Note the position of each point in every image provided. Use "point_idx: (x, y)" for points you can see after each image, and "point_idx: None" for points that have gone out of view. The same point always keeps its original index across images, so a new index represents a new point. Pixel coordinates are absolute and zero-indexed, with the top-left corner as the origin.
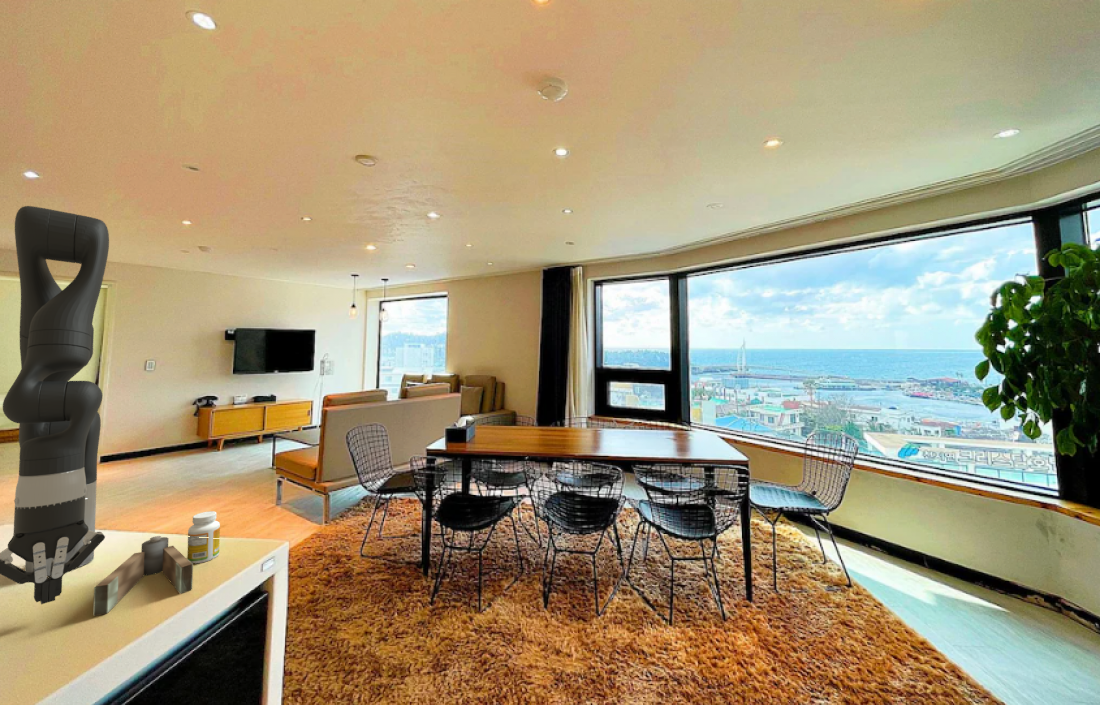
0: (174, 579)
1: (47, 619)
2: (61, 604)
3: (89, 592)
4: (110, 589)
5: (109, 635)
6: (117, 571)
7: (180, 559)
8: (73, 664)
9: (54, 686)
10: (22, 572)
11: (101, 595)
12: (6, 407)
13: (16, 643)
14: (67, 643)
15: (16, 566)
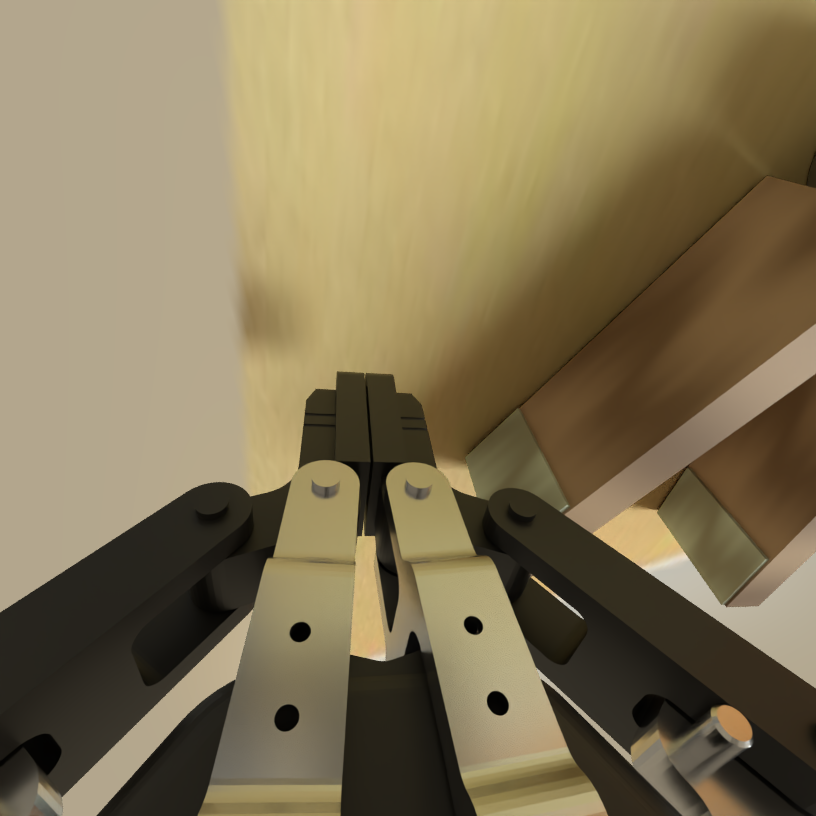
0: (723, 465)
1: (363, 329)
2: (444, 185)
3: (580, 141)
4: None
5: None
6: (642, 477)
7: (804, 545)
8: (355, 630)
9: None
10: (201, 645)
11: None
12: None
13: (263, 446)
14: (367, 550)
15: (127, 626)
